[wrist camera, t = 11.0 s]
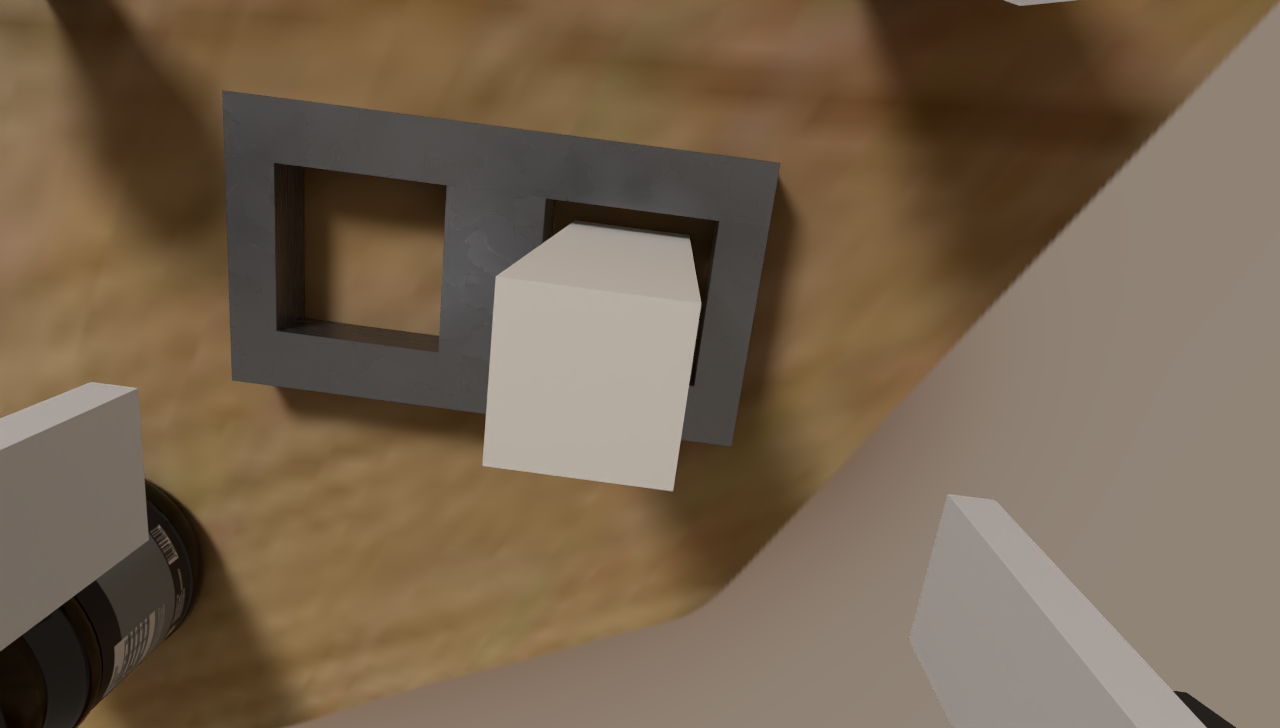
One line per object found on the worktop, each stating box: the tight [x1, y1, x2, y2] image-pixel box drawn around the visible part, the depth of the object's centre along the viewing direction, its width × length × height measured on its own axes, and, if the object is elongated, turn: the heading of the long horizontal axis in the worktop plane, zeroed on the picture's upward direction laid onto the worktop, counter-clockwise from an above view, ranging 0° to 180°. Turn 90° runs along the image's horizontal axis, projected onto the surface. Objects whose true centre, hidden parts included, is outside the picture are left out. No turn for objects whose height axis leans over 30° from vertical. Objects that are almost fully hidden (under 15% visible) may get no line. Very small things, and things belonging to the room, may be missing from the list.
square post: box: [482, 220, 701, 491], centre depth 26 cm, size 5×5×15 cm
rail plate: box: [222, 90, 780, 447], centre depth 32 cm, size 22×12×2 cm, turn 83°
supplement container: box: [0, 479, 203, 728], centre depth 32 cm, size 10×10×12 cm
